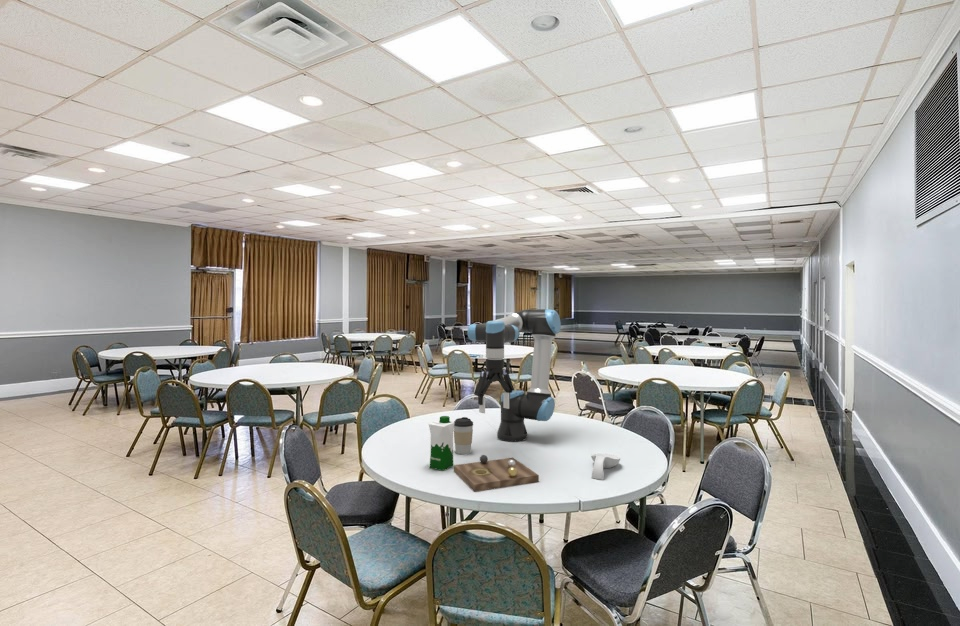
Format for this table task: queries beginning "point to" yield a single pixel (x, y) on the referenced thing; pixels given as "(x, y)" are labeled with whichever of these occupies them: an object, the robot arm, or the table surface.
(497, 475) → the board
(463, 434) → the coffee cup
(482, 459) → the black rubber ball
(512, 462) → the steel ball
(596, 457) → the white curved piece
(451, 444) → the milk carton
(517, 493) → the table surface
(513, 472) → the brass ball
